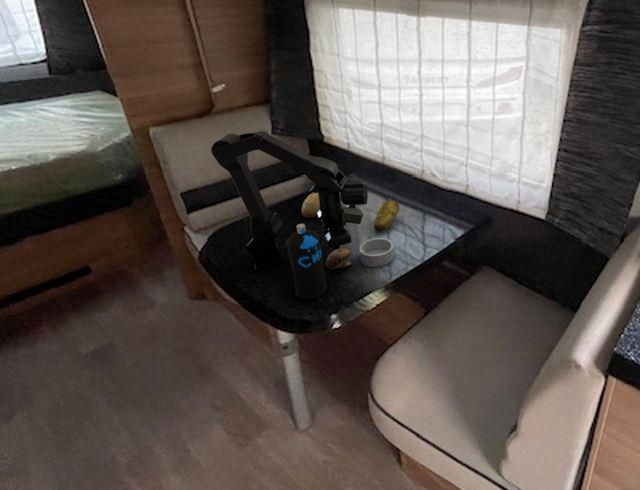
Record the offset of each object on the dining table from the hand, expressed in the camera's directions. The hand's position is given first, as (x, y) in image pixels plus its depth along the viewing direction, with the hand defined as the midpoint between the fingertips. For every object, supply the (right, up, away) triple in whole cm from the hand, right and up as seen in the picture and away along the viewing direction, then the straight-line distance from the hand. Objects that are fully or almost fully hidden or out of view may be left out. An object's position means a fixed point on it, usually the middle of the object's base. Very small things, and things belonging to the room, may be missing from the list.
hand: (336, 250), depth 125 cm
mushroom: (+2, -5, -2) cm, 5 cm away
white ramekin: (+12, -3, +2) cm, 12 cm away
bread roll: (-15, +9, +29) cm, 34 cm away
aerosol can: (-3, -9, -12) cm, 15 cm away
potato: (+10, +5, +20) cm, 23 cm away
